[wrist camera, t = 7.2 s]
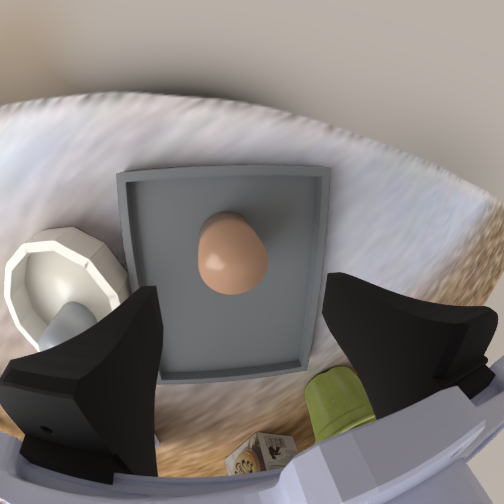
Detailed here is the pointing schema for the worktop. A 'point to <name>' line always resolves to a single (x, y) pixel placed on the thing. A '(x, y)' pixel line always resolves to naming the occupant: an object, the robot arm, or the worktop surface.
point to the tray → (210, 301)
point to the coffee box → (261, 454)
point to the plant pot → (337, 403)
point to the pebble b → (230, 254)
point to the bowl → (62, 279)
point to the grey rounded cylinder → (66, 325)
